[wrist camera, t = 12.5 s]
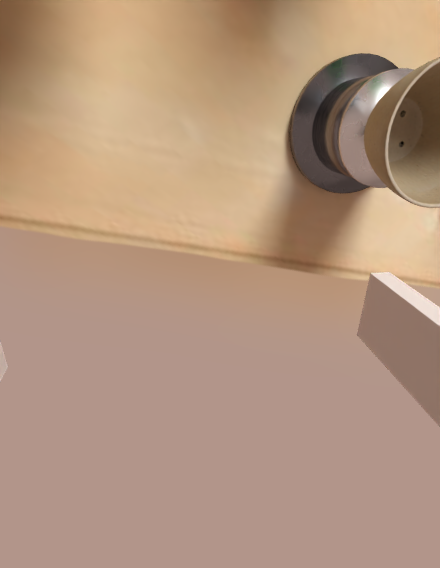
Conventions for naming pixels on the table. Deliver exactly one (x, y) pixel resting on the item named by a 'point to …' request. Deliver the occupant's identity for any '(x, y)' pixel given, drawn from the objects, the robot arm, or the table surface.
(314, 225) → the table surface
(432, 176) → the flower pot
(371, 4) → the table surface
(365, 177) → the grey top hat
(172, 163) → the table surface
